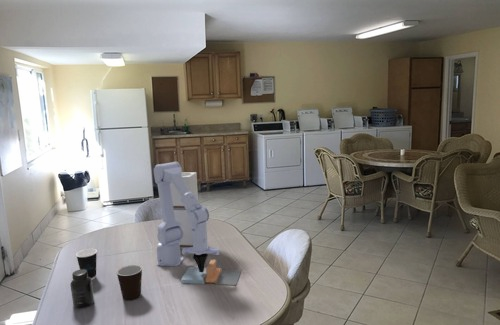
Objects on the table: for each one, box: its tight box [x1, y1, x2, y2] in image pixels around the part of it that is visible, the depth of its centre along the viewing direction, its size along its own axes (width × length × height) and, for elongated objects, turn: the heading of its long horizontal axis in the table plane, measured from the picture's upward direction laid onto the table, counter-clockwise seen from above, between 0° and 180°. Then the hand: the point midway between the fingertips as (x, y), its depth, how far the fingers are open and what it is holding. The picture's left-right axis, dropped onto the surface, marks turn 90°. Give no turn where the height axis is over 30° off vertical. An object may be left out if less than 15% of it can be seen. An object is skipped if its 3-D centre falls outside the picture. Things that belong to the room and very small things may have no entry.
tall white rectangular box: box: [170, 171, 199, 250], centre depth 184 cm, size 11×11×35 cm
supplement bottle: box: [70, 269, 95, 310], centre depth 134 cm, size 7×7×12 cm
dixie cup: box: [75, 248, 98, 281], centre depth 154 cm, size 8×8×11 cm
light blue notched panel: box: [180, 266, 207, 285], centre depth 152 cm, size 9×11×2 cm
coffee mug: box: [116, 264, 143, 302], centre depth 140 cm, size 12×9×10 cm
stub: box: [205, 259, 222, 284], centre depth 151 cm, size 4×10×5 cm, turn 172°
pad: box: [215, 269, 242, 286], centre depth 150 cm, size 8×12×1 cm, turn 172°
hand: (201, 271), depth 151 cm, fingers closed
